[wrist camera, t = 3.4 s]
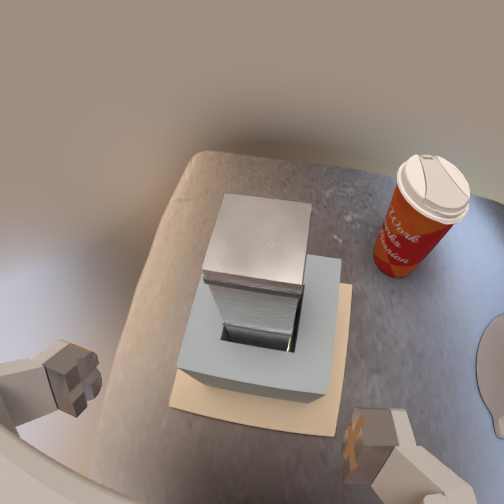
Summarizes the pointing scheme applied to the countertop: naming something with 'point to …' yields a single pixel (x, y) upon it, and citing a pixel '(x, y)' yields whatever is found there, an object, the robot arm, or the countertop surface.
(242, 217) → the post
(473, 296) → the countertop surface
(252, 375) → the stand
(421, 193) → the paper cup
